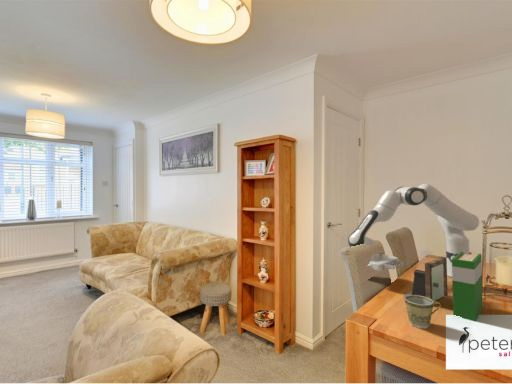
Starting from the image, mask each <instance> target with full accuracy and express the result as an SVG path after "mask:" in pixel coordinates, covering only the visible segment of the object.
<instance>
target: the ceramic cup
mask: <svg viewBox="0 0 512 384" xmlns="http://www.w3.org/2000/svg"><path fill="white" fill-rule="evenodd" d="M404 296H405V295H404ZM404 304H405V308H406V313H407V316H408V321H409V324H410V326H412V327H414V328H418V329H422V330H424V329H425V330H426V329H428V328H429V327H431V321H432V315H433V314H435V313H436V312H437V311H438V310H440V309H441V307H442V304H441V303H440V302H439V301H434V302H433V300H431V299H429V298H427V297H424V296H419V295H408V296H405V297H404ZM437 304H439V306H438V308H435V309H434V305H437Z"/></svg>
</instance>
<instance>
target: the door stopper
mask: <svg viewBox="0 0 512 384" xmlns="http://www.w3.org/2000/svg"><path fill="white" fill-rule="evenodd" d="M412 284H413V285H412V287H411V288H412V290H411V292H412V295H419V296H424V297H426V292H425V270H421V269H414V271H413V282H412Z"/></svg>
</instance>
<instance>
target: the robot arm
mask: <svg viewBox="0 0 512 384" xmlns="http://www.w3.org/2000/svg"><path fill="white" fill-rule="evenodd" d="M421 204H423V205H424V206H425V207H427V208H428V209H429V210H430V211H432V212H433V214H435V215H437V222H438V224H439V225H441V227H442V230H443V232H444V236H445V241H446V243H445V244H446V251H445V257H447V277H450V278H452V259H453V258H454V257H455V256H456V255H458V254H459V253H460V252H463V254H471V255H472V252H471V251H470V241H469V240H470V239H469V237H467V236H466V234H465V232H468V231H469V232H470V231H475V230H476V229H478V227H479V226H480V219H479V217H478V216H477V215H475V214H473V213H472V212H470V211H467V210H466V209H464V208H462V207H461V206H459V204H456V203H454V202H453V201H451V199H449V198H447V196H445V194H443V193H442V192H441V191H440V190H438V189H437V188H436V187H435V186H433V185H431V184H429V183H422V184H420V185H419V186H417V187H415V186H399V187H398V188H396V189H395V190H392V189H390V190H386V191H385V192H384V193H383V194H382V195H381V197H380V199H378V202H377V204H376V205H375V206H374V207H373V209H372V210H370V211H368V213H367V214H366V215H365V216H364V218H363V219H362V220H361V222H360V223H359V225H357V228H355V230H354V231H352V233H351V234H349V236H348V239H347V240H348V241H347V242H348V246H349V247H350V248H351V246H356V245H360V244H364V243H365V244H366V245H373V244H374V243H375V241H374V240H373V239H372V238H370V237H368V236H366V235H367V233H368V232H369V231H370V230H371V228H372V227H373V226H374V225H375V224H376V223H383V222H385V223H386V222H387V221H390V220H391V219H392V217H393V216H394V214H395V213H396V211H397V209H398V207H399V206H400V205H405V206H419V205H421ZM373 241H374V242H373ZM399 259H400V258H398V257H397V256H393V255H388V254H386V253H381V252H379V253H377V252H373V254H372V256H371V261H370V262H369V264H368V265H367V266H370V268H369V269H371V270H375V271H380V272H381V271H383V270H384V271H385V270H395V266H397V265H398V266H400V267H402V266H404V262H403V261H400V260H399Z"/></svg>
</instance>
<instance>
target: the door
mask: <svg viewBox="0 0 512 384" xmlns="http://www.w3.org/2000/svg"><path fill="white" fill-rule="evenodd" d="M443 297H445V296H444V275H443V263H442V264H440V265H437V266H435V267H433V268H432V300H433V302H437V300H439V299H441V298H443Z"/></svg>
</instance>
